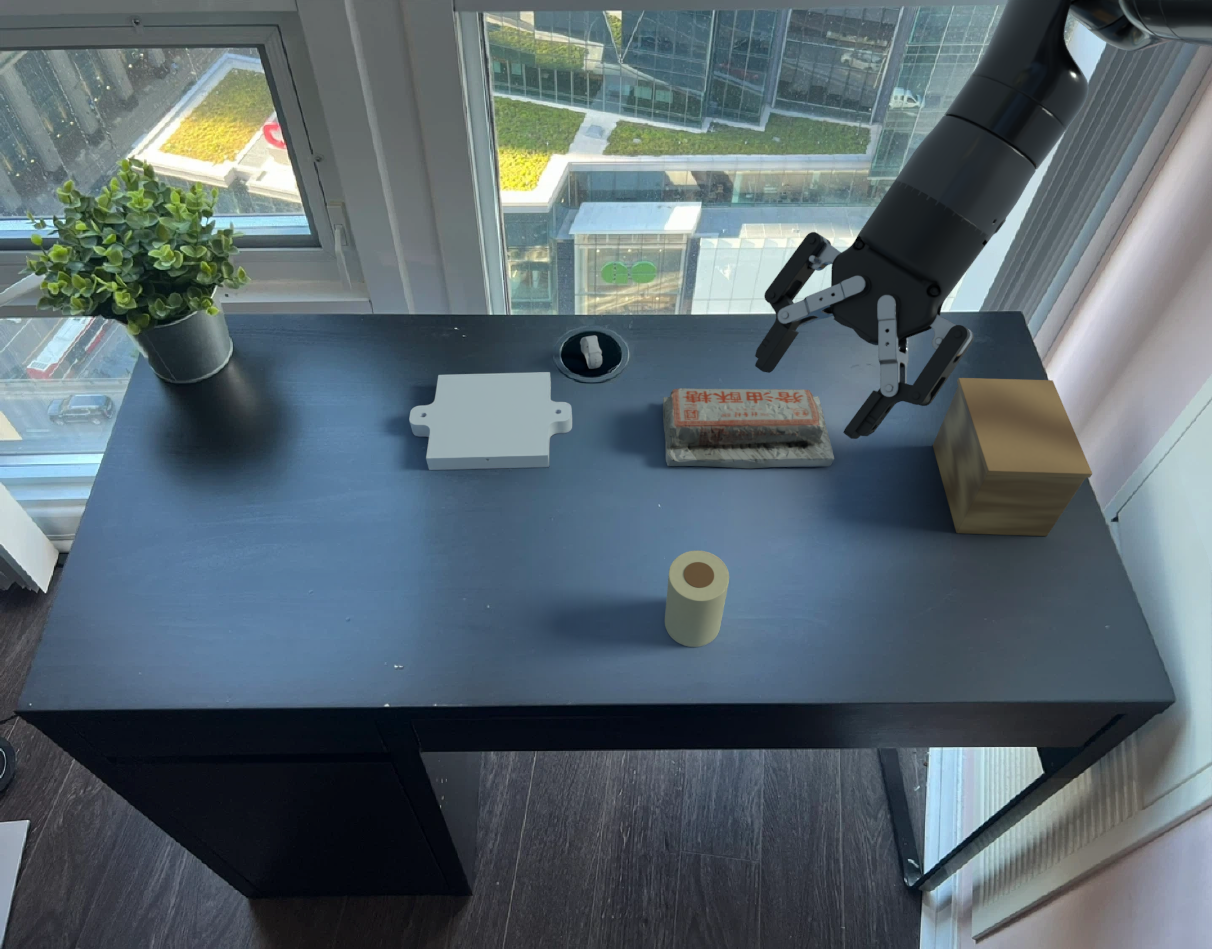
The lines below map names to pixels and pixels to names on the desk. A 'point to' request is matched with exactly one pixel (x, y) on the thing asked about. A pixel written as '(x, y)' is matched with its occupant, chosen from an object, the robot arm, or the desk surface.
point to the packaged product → (745, 428)
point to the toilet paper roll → (696, 598)
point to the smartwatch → (591, 351)
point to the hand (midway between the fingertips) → (805, 402)
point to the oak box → (1008, 457)
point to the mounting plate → (490, 421)
